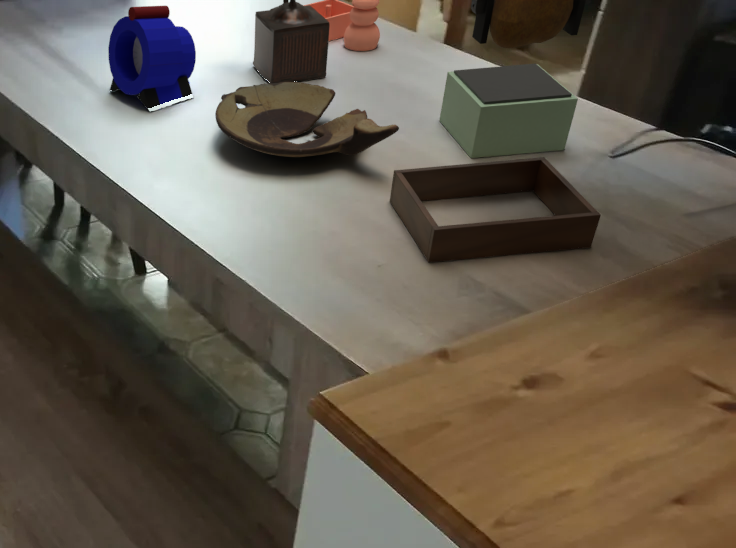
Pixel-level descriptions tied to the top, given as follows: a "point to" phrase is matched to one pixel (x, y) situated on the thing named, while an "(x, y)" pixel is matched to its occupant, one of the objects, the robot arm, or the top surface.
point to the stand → (507, 110)
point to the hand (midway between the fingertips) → (524, 36)
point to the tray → (496, 237)
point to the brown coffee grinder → (291, 43)
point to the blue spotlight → (151, 56)
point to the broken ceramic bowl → (294, 121)
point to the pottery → (351, 22)
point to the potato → (528, 21)
